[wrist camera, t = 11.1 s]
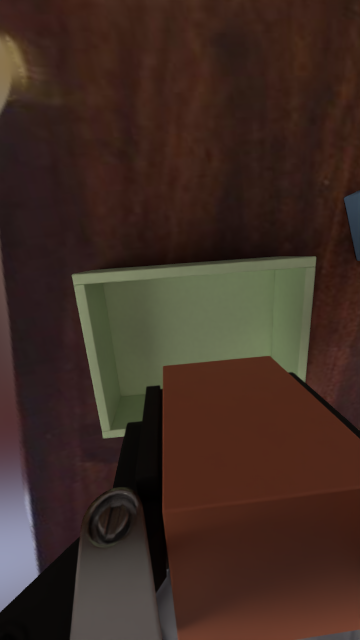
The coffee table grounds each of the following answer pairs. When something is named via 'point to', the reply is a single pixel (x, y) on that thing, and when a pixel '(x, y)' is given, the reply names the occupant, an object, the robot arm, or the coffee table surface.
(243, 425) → the terracotta block
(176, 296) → the sage bin
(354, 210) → the blue block
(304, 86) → the coffee table surface
